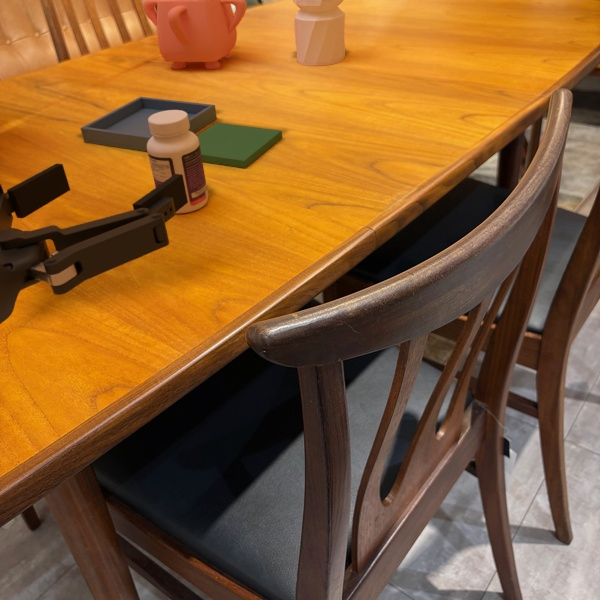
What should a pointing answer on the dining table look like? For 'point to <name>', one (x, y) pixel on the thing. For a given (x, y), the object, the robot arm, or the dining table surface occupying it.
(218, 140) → the scouring pad
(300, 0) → the vase
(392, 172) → the dining table surface
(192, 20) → the pink handled pot
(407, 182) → the dining table surface
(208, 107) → the tray
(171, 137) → the pill bottle
